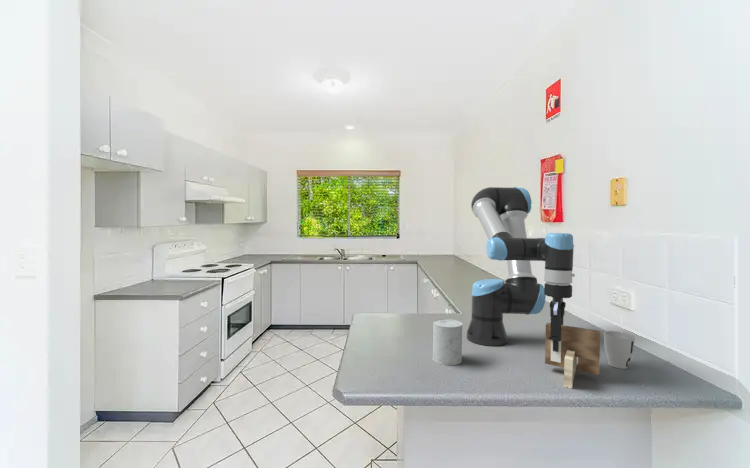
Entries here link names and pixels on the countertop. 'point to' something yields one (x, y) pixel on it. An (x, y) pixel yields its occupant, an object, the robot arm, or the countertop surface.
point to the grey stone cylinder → (447, 341)
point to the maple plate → (569, 368)
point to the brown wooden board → (576, 347)
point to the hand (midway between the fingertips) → (556, 359)
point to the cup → (618, 348)
